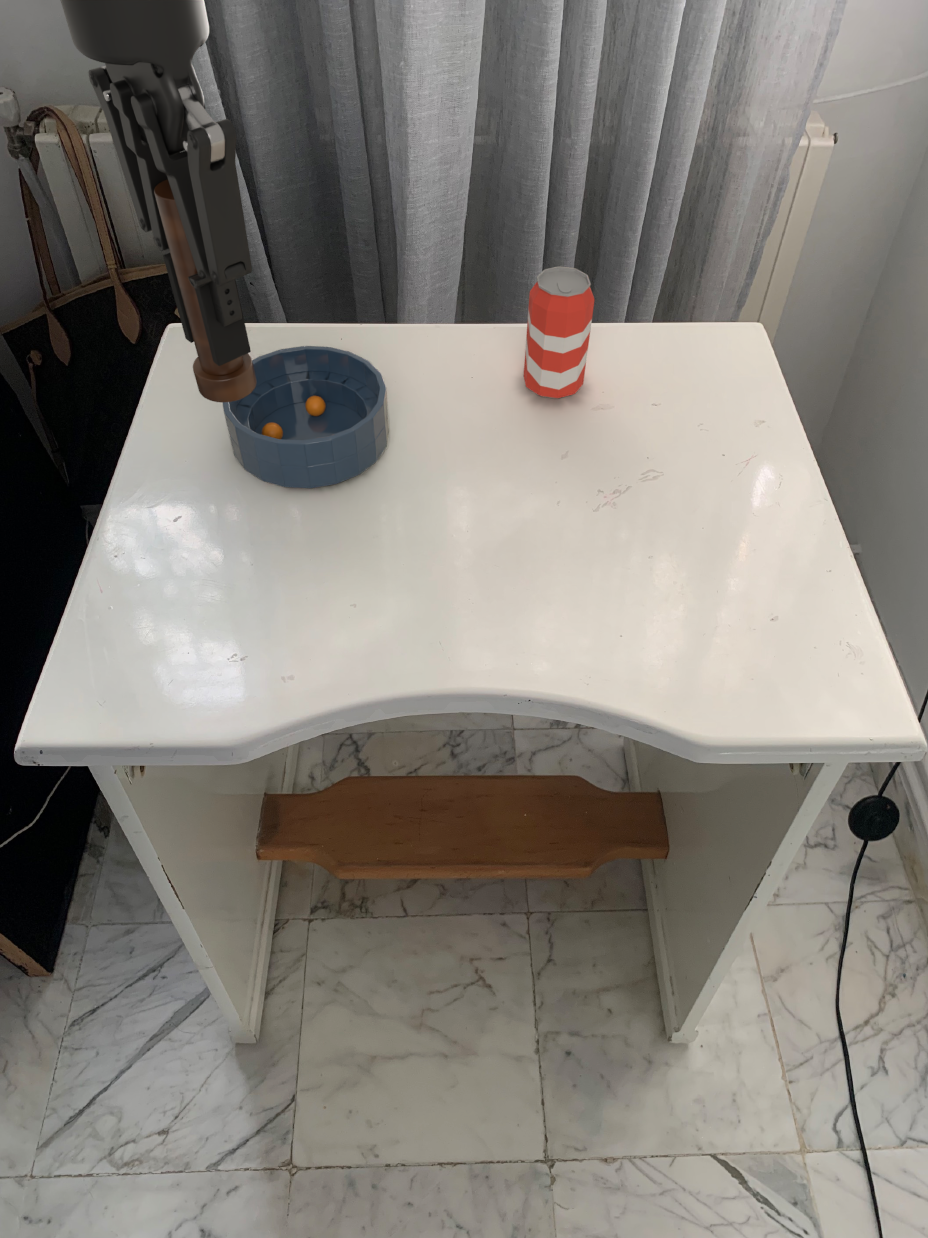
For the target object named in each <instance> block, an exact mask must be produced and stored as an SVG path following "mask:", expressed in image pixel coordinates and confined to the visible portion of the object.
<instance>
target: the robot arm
mask: <svg viewBox="0 0 928 1238" xmlns="http://www.w3.org/2000/svg"><path fill="white" fill-rule="evenodd" d="M60 4H61V8H62V10H63V14H64V18H65V21H66V24H67V27H68V30H69V34H70V37H71V40H72V41H71V42H72V43H73V45H74V47H75V48H76V49H77V51H79V53H80V54H82V56H85V57H86V58H88V59H90V60H93V61H96V62H98V63H103V64H104V65H102V66H99V67H95V68H91V69H89V70H88V79H89V82H90V84H91V86H92V89H93V91H94V93H95V95H96V98H97V100H98V102H99V104H100V106H101V109H102V111H103V114H104V117H105V120H106V123H107V124H106V125H107V127H108V129H109V133H110V136H111V139H112V142H113V144H114V148H115V151H116V155H117V157H118V161H119V165H120V167H121V171H122V174H123V177H124V179H125V180H124V181H125V184H126V187H127V190H128V192H129V195H130V199H131V202H132V206H133V209H134V211H135V214H136V217H137V221H138V225H139V226H140V229H141V230H142V231H143V232H144V233H149V232H151V233H152V238H153V242H154V244H155V246H156V247H157V249H158V250H159V251H160V252H163V253H164V254H163V255H162V258H163V261H164V264H165V269H166V272H167V275H168V279H169V283H170V287H171V290H172V294H173V298H174V302H175V305H176V309H177V311H178V316H179V319H180V322H181V327H182V330H183V334H184V337H185V340H187V341H188V342H189V343H190V344H192V343H194V340H193V336H192V332H191V328H190V325H189V321H188V317H187V314H186V310H185V306H184V302H183V299H182V295H181V291H180V287H179V284H178V280H177V276H176V272H175V269H174V265H173V261H172V258H171V254H170V250H169V246H168V243H167V239H166V235H165V231H164V228H163V224H162V220H161V216H160V213H159V209H158V205H157V202H156V198H155V194H154V189H155V187H156V186H157V185H158V184H159V183H161V182H163V181H165V180H168V181H169V184H170V187H171V190H172V193H173V196H174V200H175V203H176V206H177V209H178V212H179V215H180V219H181V222H182V225H183V228H184V231H185V234H186V238H187V241H188V244H189V247H190V250H191V253H192V257H193V260H194V263H195V266H196V269H197V272H198V273H197V274H194V275H192V276H189V277H188V279H189V281H190V283H191V285H192V286H193V287H194V288H195V291H196V295H197V299H198V303H199V307H200V311H201V315H202V319H203V323H204V327H205V331H206V334H207V338H208V342H209V346H210V350H211V354H212V358H213V362H214V363H216V364H217V365H218V366H221V365H223V364H225V363H227V362H230V361H232V360H234V359H236V358H239V357H241V356H243V355H245V354H247V353H249V354H250V353H251V351H252V350H251V346H250V340H249V337H248V333H247V327H246V322H245V318H244V313H243V308H242V304H241V299H240V294H239V290H238V285H237V279H240V278H242V277H244V276H247V275H248V274H252V273H253V267H252V261H251V255H250V247H249V242H248V236H247V228H246V221H245V216H244V215H245V214H244V208H243V203H242V195H241V189H240V183H239V178H238V172H237V164H236V155H237V133H236V132H237V131H236V128H235V127H234V125H233V123H232V121H231V120H230V119H228V118H224V119H221V120H218V121H215V120H214V119H213V118H212V116H211V115H210V114H209V113H208V111H207V110H206V104H205V95H204V92H203V89H202V87H201V84H200V81H199V78H198V76H197V73H196V70H195V67H194V66H193V58H194V55H195V54H196V52H197V51H198V50H199V48H200V47H203V45H204V44H205V43H206V41H207V40H208V38H209V35H210V24H209V18H208V13H207V8H206V3H205V0H60Z"/></svg>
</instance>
